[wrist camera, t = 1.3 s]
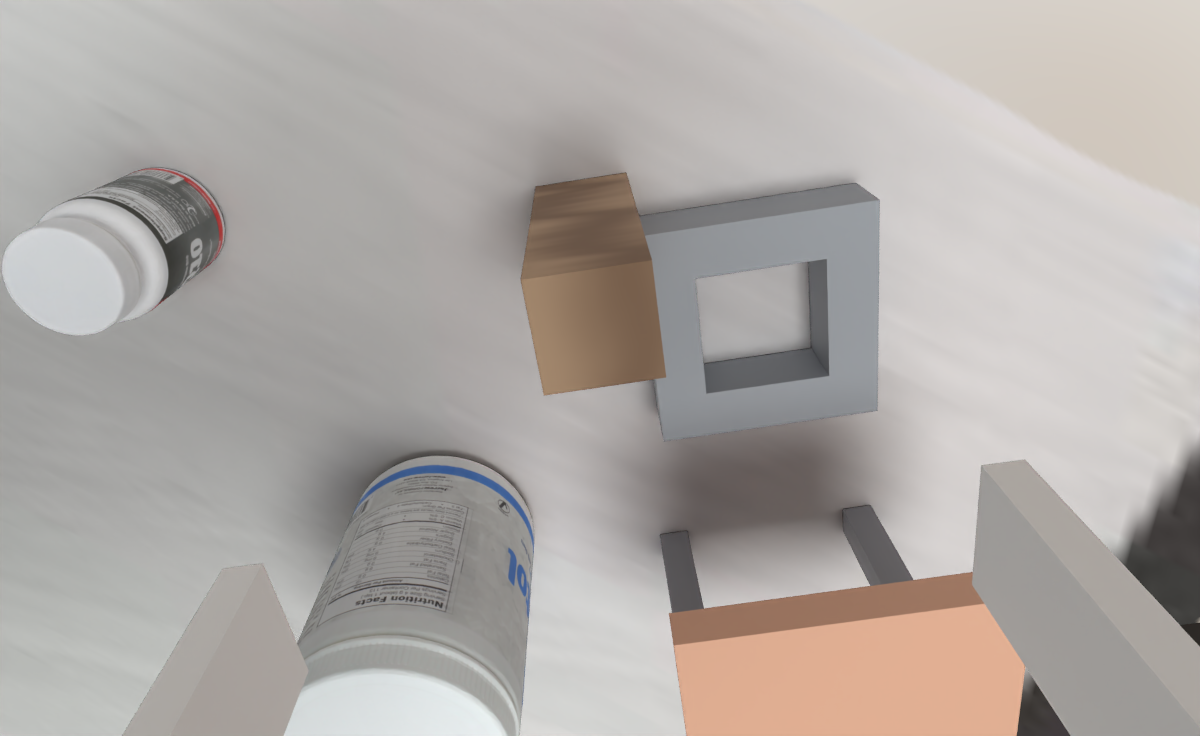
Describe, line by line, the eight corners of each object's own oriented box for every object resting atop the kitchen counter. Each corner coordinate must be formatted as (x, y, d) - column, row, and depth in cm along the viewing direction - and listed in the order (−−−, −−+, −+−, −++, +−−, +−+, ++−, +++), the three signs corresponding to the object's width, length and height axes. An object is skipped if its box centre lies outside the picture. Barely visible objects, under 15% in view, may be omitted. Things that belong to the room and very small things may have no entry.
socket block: (657, 410, 40) (663, 441, 37) (631, 217, 35) (637, 236, 33) (856, 381, 39) (877, 410, 37) (855, 182, 35) (879, 199, 32)
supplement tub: (550, 578, 44) (541, 832, 31) (384, 603, 45) (307, 864, 32) (514, 431, 40) (486, 653, 27) (331, 461, 40) (216, 693, 27)
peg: (551, 272, 36) (543, 395, 26) (535, 186, 35) (520, 280, 24) (637, 259, 36) (666, 377, 26) (626, 172, 35) (651, 260, 24)
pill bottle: (187, 291, 36) (88, 373, 29) (94, 218, 35) (-38, 285, 27) (249, 220, 35) (162, 287, 27) (155, 141, 33) (34, 189, 26)
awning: (659, 560, 44) (698, 816, 31) (639, 421, 40) (673, 645, 27) (875, 530, 44) (1011, 776, 30) (876, 387, 40) (1034, 597, 26)
